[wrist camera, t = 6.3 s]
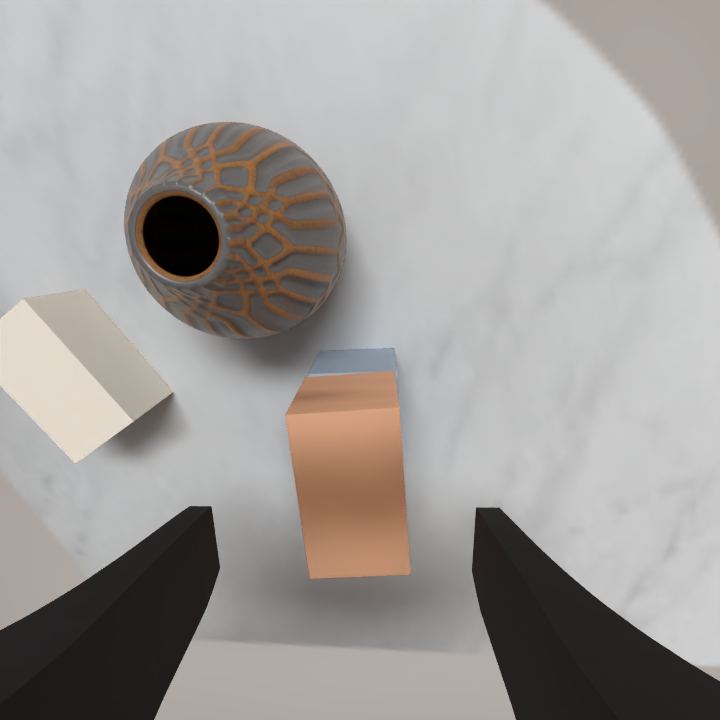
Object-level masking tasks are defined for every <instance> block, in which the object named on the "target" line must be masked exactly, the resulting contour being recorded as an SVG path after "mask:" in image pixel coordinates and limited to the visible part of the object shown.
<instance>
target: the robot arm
mask: <svg viewBox="0 0 720 720" xmlns="http://www.w3.org/2000/svg"><path fill="white" fill-rule="evenodd" d="M219 569H220V565H219V557H218V550H217V543H216V536H215V529H214V521H213V514H212V507H211V506H190V507H188V508H187V509H185V510H184V511H182V512H181V513H179V514H178V515H176V516H175V517H174V518H172V519H171V520H170V521H168V522H167V523H166V524H164V525H163V526H162V527H160V528H159V529H158V530H156V531H155V532H154V533H152V534H151V535H149V536H148V537H147V538H145V539H144V540H143V541H141V542H140V543H139V544H137V545H136V546H135V547H133V548H132V549H130V550H129V551H128V552H126V553H125V554H124V555H122V556H121V557H119V558H118V559H116V560H115V561H113V562H112V563H111V564H109V565H108V566H106V567H105V568H103V569H102V570H100V571H99V572H97V573H96V574H94V575H93V576H91V577H90V578H89V579H87V580H86V581H84V582H83V583H81V584H80V585H78V586H77V587H75V588H73V589H72V590H70V591H68V592H67V593H65V594H64V595H62V596H60V597H59V598H57V599H55V600H54V601H52V602H50V603H49V604H47V605H45V606H44V607H42V608H40V609H39V610H37V611H35V612H33V613H32V614H30V615H28V616H26V617H24V618H23V619H21V620H19V621H17V622H15V623H13V624H11V625H9V626H7V627H6V628H4V629H2V630H0V720H154V719H155V716H156V714H157V712H158V709H159V707H160V705H161V702H162V700H163V698H164V696H165V694H166V691H167V689H168V687H169V685H170V683H171V681H172V679H173V677H174V675H175V673H176V671H177V669H178V667H179V664H180V663H181V660H182V658H183V656H184V654H185V651H186V650H187V648H188V646H189V644H190V642H191V640H192V638H193V635H194V633H195V631H196V629H197V627H198V625H199V623H200V621H201V618H202V616H203V614H204V612H205V610H206V608H207V605H208V602H209V599H210V597H211V594H212V591H213V588H214V585H215V582H216V579H217V576H218V573H219ZM472 573H473V578H474V583H475V588H476V593H477V597H478V602H479V606H480V610H481V614H482V617H483V620H484V623H485V626H486V629H487V632H488V635H489V638H490V641H491V644H492V647H493V650H494V653H495V656H496V659H497V662H498V665H499V668H500V671H501V674H502V677H503V680H504V683H505V686H506V689H507V692H508V695H509V698H510V701H511V704H512V708H513V711H514V714H515V718H516V720H720V681H718V680H717V679H715V678H713V677H712V676H710V675H708V674H706V673H705V672H703V671H702V670H700V669H698V668H697V667H695V666H693V665H692V664H690V663H689V662H687V661H685V660H684V659H682V658H681V657H679V656H678V655H676V654H675V653H673V652H672V651H670V650H668V649H667V648H665V647H664V646H662V645H661V644H659V643H658V642H656V641H655V640H653V639H652V638H650V637H649V636H647V635H646V634H644V633H643V632H642V631H640V630H639V629H637V628H636V627H634V626H633V625H632V624H630V623H629V622H628V621H626V620H625V619H624V618H622V617H621V616H620V615H618V614H617V613H615V612H614V611H613V610H611V609H610V608H609V607H607V606H606V605H605V604H603V603H602V602H601V601H600V600H598V599H597V598H596V597H595V596H593V595H592V594H591V593H590V592H588V591H587V590H586V589H585V588H584V587H583V586H581V585H580V584H579V583H578V582H577V581H575V580H574V579H573V578H572V577H571V576H570V575H568V574H567V573H566V572H565V571H564V570H563V569H562V568H561V567H559V566H558V565H557V564H556V563H555V562H554V561H553V560H552V559H551V558H550V557H549V556H548V555H546V554H545V553H544V552H543V551H542V550H541V549H540V548H539V547H538V546H537V545H536V544H535V543H534V542H533V541H532V540H531V539H530V538H529V537H528V536H527V535H526V534H525V533H524V532H523V531H522V530H521V529H520V528H519V527H518V526H517V525H516V524H515V523H514V522H513V521H512V520H511V519H510V518H509V517H508V516H507V515H506V514H505V513H504V512H503V511H502V510H501V509H500V508H476V518H475V533H474V548H473V564H472Z"/></svg>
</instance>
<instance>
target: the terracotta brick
mask: <svg viewBox="0 0 720 720" xmlns="http://www.w3.org/2000/svg"><path fill="white" fill-rule="evenodd" d="M285 416H286V423H287V430H288V436H289V443H290V450H291V456H292V463H293V470H294V477H295V483H296V490H297V497H298V503H299V510H300V517H301V524H302V530H303V537H304V544H305V550H306V557H307V564H308V570H309V577H310V579H317V578H341V577H365V576H388V575H411V572H410V558H409V543H408V528H407V514H406V499H405V484H404V470H403V455H402V440H401V426H400V411H399V402H398V394H397V387H396V379H395V372H394V371H382V372H368V373H355V374H341V375H327V376H314V377H305V379H304V381H303V382H302V384H301V386H300V388H299V390H298V392H297V394H296V396H295V398H294V400H293V401H292V403H291V405H290V407H289V409H288V411H287V413H286V415H285Z"/></svg>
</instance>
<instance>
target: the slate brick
mask: <svg viewBox="0 0 720 720" xmlns="http://www.w3.org/2000/svg"><path fill="white" fill-rule="evenodd" d="M382 371H394V372H395V379H396V387H397V394H398V370H397V364H396V358H395V351H394V348H383V349H355V350H327V351H320V352H319V354H318V356H317V358H316V360H315V362H314V364H313V366H312V368H311V370H310V371H309V373H308V377H314V376H327V375H341V374H355V373H368V372H382Z"/></svg>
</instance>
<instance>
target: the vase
mask: <svg viewBox="0 0 720 720" xmlns="http://www.w3.org/2000/svg"><path fill="white" fill-rule="evenodd" d="M124 228H125V237H126V244H127V248H128V252H129V255H130V258H131V261H132V263H133V266H134V268H135V270H136V272H137V274H138V276H139V278H140V280H141V281H142V283H143V284H144V286H145V287H146V289H147V290H148V291H149V293H150V294H151V295H152V296H153V298H154V299H155V300H156V301H157V302H158V303H159V304H160V305H161V306H162V307H163V308H164V309H166V310H167V311H168V312H169V313H171V314H172V315H173V316H175V317H176V318H178V319H179V320H181V321H182V322H184V323H186V324H187V325H189V326H191V327H193V328H196V329H198V330H201V331H203V332H206V333H209V334H213V335H216V336H221V337H227V338H235V339H254V338H262V337H268V336H272V335H275V334H278V333H281V332H284V331H287V330H289V329H291V328H293V327H295V326H297V325H298V324H300V323H302V322H303V321H304V320H306V319H307V318H308V317H310V316H311V315H312V314H313V313H314V312H315V311H316V310H318V308H319V307H320V306H321V305H322V304H323V303H324V302H325V300H326V299H327V298H328V296H329V295H330V293H331V292H332V290H333V288H334V286H335V285H336V282H337V280H338V278H339V275H340V273H341V270H342V266H343V263H344V258H345V251H346V227H345V220H344V215H343V211H342V208H341V205H340V202H339V199H338V197H337V194H336V192H335V190H334V188H333V186H332V184H331V183H330V181H329V179H328V178H327V176H326V175H325V173H324V172H323V171H322V169H321V168H320V167H319V166H318V164H317V163H316V162H315V161H314V160H313V159H312V158H311V157H310V156H309V155H308V154H307V153H306V152H305V151H303V150H302V149H301V148H300V147H299V146H297V145H296V144H295V143H293V142H292V141H290V140H288V139H287V138H285V137H283V136H281V135H279V134H278V133H275V132H273V131H270V130H268V129H265V128H262V127H259V126H255V125H251V124H245V123H236V122H217V123H209V124H204V125H199V126H195V127H192V128H189V129H187V130H184V131H182V132H180V133H177V134H176V135H174V136H172V137H170V138H169V139H167V140H166V141H164V142H163V143H162V144H160V145H159V146H158V147H157V148H156V149H155V150H154V151H153V152H152V153H151V154H150V155H149V156H148V157H147V158H146V159H145V161H144V162H143V163H142V165H141V166H140V168H139V169H138V171H137V173H136V175H135V177H134V179H133V181H132V183H131V186H130V189H129V192H128V196H127V200H126V206H125V215H124Z"/></svg>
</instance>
